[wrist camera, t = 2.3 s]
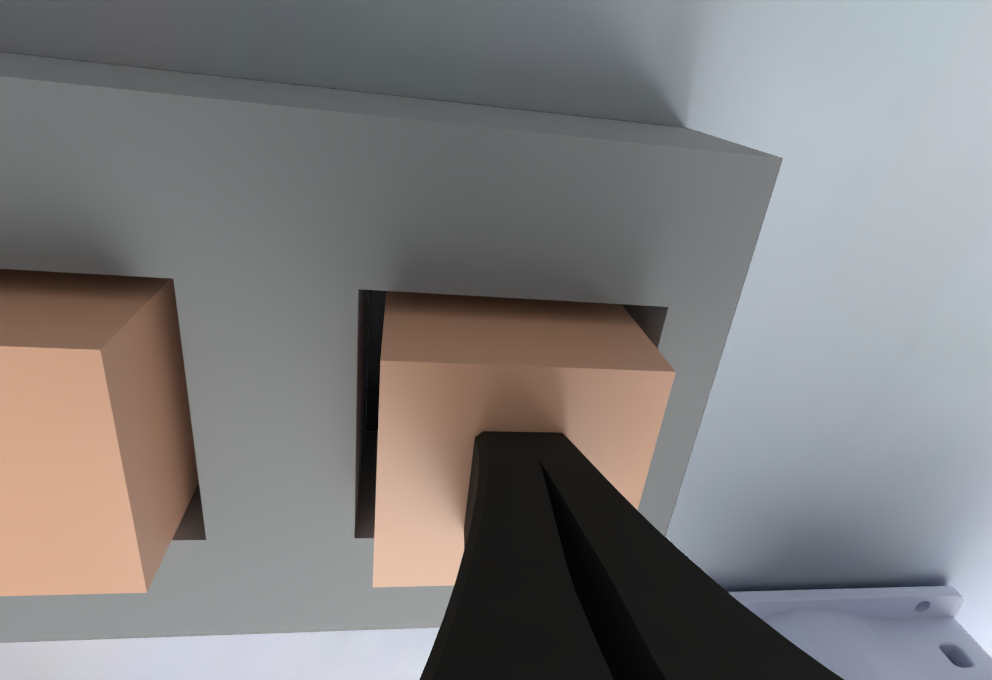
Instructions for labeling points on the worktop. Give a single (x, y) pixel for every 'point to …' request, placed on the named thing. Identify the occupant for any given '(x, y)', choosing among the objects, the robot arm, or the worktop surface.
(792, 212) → the worktop surface
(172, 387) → the button
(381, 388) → the button
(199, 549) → the switch block
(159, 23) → the worktop surface
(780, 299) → the worktop surface
